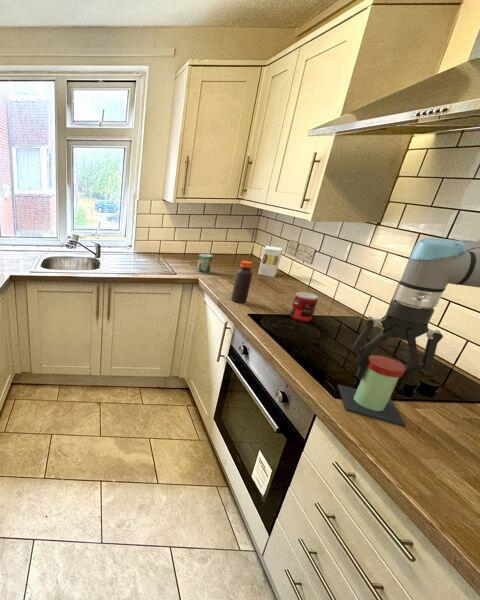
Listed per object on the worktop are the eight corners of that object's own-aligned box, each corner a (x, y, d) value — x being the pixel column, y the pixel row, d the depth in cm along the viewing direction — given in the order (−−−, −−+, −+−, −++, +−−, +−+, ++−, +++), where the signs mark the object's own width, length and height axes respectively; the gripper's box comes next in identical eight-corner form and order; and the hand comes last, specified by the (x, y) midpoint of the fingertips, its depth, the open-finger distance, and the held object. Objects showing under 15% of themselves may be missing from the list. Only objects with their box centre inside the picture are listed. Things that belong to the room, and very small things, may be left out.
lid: (364, 357, 88) (366, 352, 87) (401, 367, 84) (404, 361, 83) (366, 370, 82) (368, 364, 82) (406, 381, 78) (409, 375, 77)
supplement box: (257, 274, 197) (263, 248, 191) (259, 271, 204) (265, 245, 198) (274, 277, 192) (281, 250, 186) (276, 273, 199) (283, 247, 193)
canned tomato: (212, 273, 199) (215, 256, 195) (200, 273, 198) (203, 256, 194) (205, 269, 206) (208, 253, 202) (194, 270, 205) (197, 253, 201)
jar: (380, 399, 88) (398, 362, 84) (388, 414, 83) (407, 375, 78) (351, 392, 91) (366, 355, 87) (356, 405, 86) (372, 367, 81)
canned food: (293, 312, 144) (299, 290, 140) (313, 318, 138) (321, 295, 134) (286, 317, 140) (293, 294, 135) (307, 323, 134) (315, 299, 130)
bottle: (231, 302, 156) (239, 262, 148) (231, 297, 161) (239, 259, 154) (246, 304, 153) (255, 264, 145) (246, 299, 159) (254, 261, 151)
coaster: (389, 399, 90) (390, 397, 89) (404, 426, 80) (405, 424, 80) (337, 386, 95) (338, 384, 95) (345, 410, 85) (346, 408, 85)
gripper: (359, 298, 79) (330, 374, 87) (482, 320, 67) (435, 405, 76) (357, 290, 84) (331, 362, 93) (471, 309, 73) (428, 389, 82)
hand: (378, 381), depth 85 cm, fingers closed on lid, 7 cm apart
